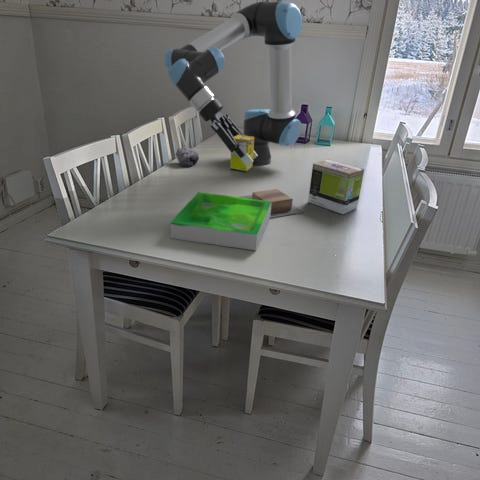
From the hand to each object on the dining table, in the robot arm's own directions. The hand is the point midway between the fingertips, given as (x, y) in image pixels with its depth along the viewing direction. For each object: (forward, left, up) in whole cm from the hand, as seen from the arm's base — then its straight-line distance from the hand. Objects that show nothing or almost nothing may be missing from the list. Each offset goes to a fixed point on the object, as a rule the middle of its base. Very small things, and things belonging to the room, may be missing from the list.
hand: (252, 160), depth 138 cm
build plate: (+2, +6, -16) cm, 17 cm away
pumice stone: (-51, -4, -16) cm, 54 cm away
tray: (+12, -16, -16) cm, 25 cm away
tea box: (+10, +28, -16) cm, 34 cm away
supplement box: (-2, -3, -4) cm, 5 cm away
